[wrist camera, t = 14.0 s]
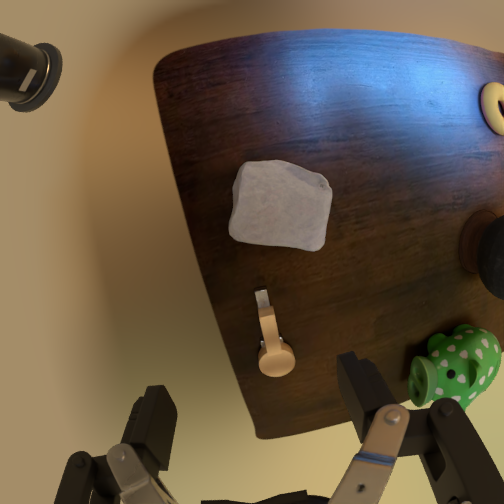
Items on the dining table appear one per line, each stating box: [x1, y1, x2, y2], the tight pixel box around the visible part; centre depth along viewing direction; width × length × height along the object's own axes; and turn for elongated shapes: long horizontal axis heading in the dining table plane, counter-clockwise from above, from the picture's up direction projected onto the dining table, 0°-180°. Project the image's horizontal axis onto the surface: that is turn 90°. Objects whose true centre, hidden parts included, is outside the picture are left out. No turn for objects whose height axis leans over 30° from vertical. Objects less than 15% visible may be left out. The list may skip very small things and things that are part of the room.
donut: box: [481, 82, 504, 136], centre depth 30 cm, size 10×5×9 cm
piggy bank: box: [407, 324, 501, 412], centre depth 38 cm, size 14×18×15 cm
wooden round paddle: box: [258, 306, 295, 377], centre depth 40 cm, size 11×5×2 cm, turn 12°
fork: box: [254, 286, 283, 347], centre depth 41 cm, size 14×3×1 cm, turn 12°
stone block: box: [228, 160, 332, 251], centre depth 35 cm, size 12×5×10 cm
